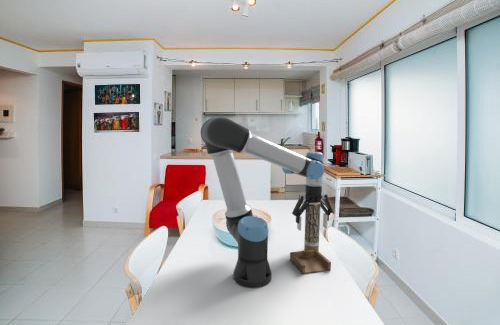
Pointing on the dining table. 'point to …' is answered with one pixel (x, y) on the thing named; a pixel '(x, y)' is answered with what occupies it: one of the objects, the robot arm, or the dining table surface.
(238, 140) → the robot arm
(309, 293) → the dining table surface
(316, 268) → the wooden tray
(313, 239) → the paper tube
